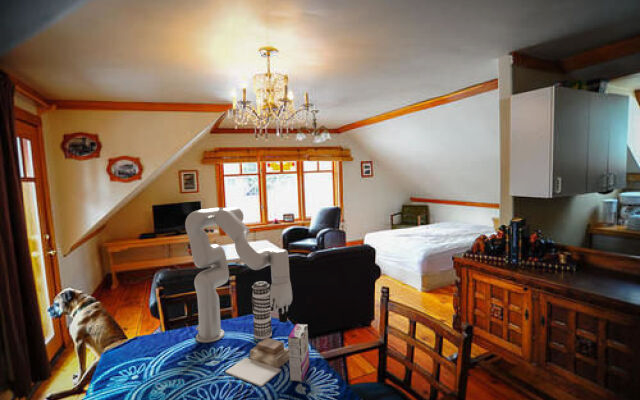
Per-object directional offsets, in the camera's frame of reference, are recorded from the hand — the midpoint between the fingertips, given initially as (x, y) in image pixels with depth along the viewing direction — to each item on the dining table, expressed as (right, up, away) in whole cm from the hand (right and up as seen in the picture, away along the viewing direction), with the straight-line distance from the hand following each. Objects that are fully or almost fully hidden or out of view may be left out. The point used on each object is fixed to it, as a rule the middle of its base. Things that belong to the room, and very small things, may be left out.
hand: (283, 321), depth 140 cm
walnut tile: (-4, -9, -6) cm, 12 cm away
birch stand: (-5, -13, -6) cm, 15 cm away
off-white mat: (-10, -14, -15) cm, 22 cm away
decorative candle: (-11, -12, +15) cm, 23 cm away
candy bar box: (+8, -13, -16) cm, 23 cm away
